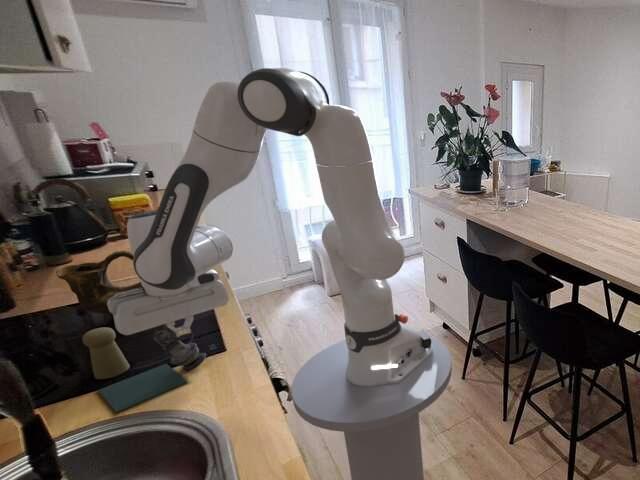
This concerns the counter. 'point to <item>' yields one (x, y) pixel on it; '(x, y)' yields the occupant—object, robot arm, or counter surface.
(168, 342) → the grey stone statuette
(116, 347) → the cork
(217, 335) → the counter surface
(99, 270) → the pottery vessel
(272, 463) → the counter surface
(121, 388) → the felt mat
